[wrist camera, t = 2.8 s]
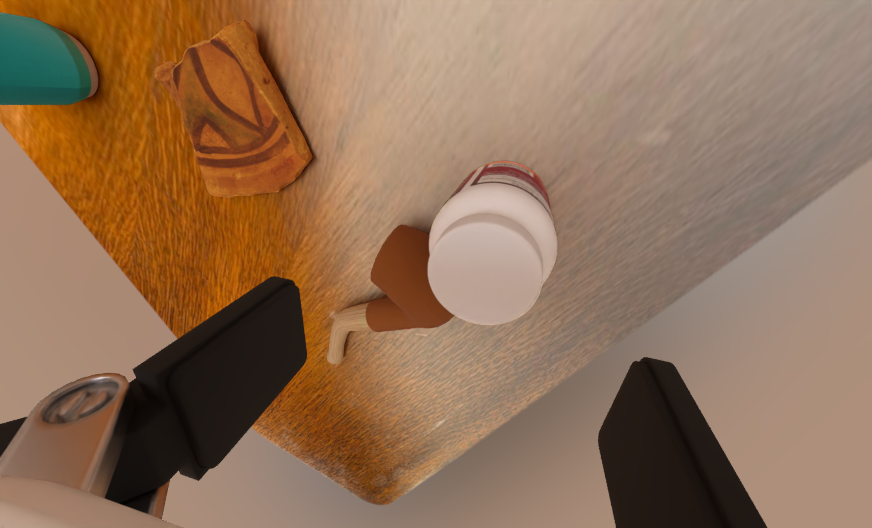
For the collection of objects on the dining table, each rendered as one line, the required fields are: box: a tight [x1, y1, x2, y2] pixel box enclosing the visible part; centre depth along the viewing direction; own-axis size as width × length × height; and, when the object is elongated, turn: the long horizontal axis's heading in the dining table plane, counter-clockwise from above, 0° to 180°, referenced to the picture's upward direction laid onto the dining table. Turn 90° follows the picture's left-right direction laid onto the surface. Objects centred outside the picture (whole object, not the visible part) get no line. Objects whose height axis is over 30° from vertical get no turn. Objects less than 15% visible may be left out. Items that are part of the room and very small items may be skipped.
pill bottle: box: [428, 161, 558, 325], centre depth 18 cm, size 6×6×11 cm
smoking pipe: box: [327, 225, 454, 364], centre depth 27 cm, size 7×18×6 cm, turn 144°
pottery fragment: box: [154, 20, 312, 198], centre depth 24 cm, size 10×5×10 cm
